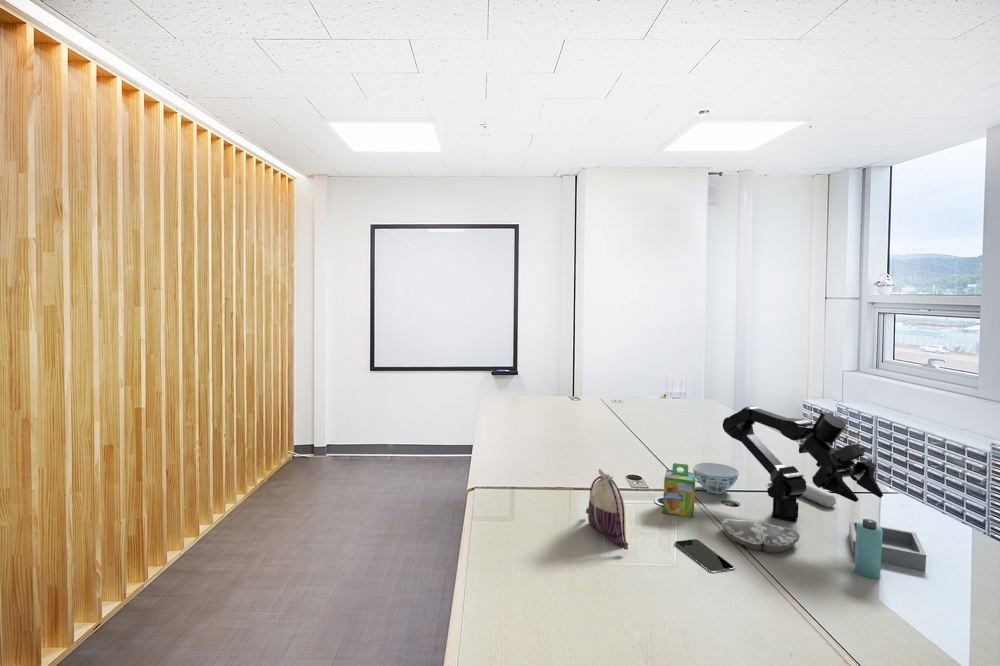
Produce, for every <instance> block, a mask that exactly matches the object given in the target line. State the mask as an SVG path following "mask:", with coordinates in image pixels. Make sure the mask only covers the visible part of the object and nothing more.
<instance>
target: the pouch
mask: <svg viewBox="0 0 1000 666" xmlns="http://www.w3.org/2000/svg"><path fill="white" fill-rule="evenodd" d="M598 474H599V475H600V476H597V477H596V478H595V479H594V480H593V482H592V483H591V486H590V492H589V498H588V499H589V500H588V507H587V508H586V509H585V514H587V520H588V521H587V522H588V523H589V524H590V525H591V527H594V528H595V529H597V531H599V532H601V534H603V535H604V536H606V537H607V538H608V539H610V540H612V541H613V542H614V543H615V544H616V545H618V546H620V547H622V548H623V550H629V548H628V546H629V543H628V542H627V540H626V539H627V538H626V537H627V533H626V532H627V527H626V525H627V524H626V522H627V521H626V520H627V519H626V507H625V506H626V505H625V500H624V497H623V495H622V492H621V491H620V489H619V488H618V485H617V483H616V482H615V481H614V476H610V474H606V473H604V471H603V470H602V469H601V468H599V469H598Z"/></svg>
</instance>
